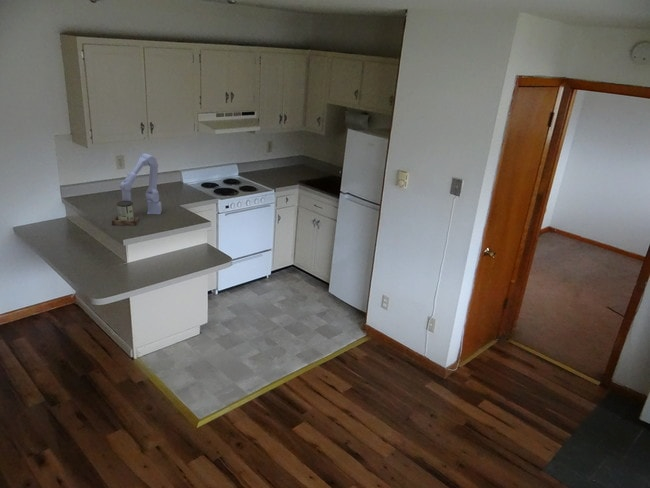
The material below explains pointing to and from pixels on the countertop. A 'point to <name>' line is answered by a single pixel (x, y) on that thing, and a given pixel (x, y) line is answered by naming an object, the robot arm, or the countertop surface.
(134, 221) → the can dock
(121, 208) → the coffee can
